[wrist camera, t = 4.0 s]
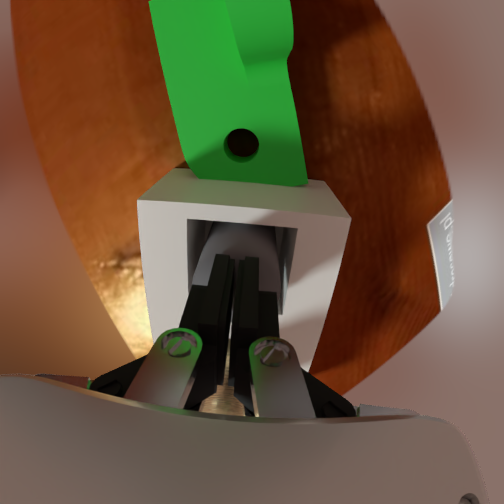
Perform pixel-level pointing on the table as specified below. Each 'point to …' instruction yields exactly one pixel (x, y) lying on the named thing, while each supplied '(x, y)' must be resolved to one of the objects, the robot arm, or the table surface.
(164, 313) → the white peg holder block
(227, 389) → the brass knob
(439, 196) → the table surface
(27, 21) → the table surface
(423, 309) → the table surface
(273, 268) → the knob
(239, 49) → the mechanical part
